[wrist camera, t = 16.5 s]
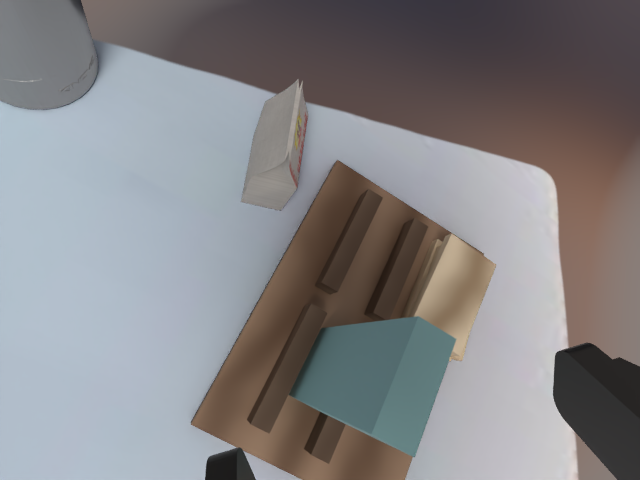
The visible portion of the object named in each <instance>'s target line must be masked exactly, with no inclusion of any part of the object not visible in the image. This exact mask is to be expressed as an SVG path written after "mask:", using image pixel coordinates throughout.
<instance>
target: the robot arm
mask: <svg viewBox="0 0 640 480" xmlns="http://www.w3.org/2000/svg"><path fill="white" fill-rule="evenodd" d="M97 71H98V59H97V54H96V50H95V47H94V44H93V40H92V37H91V34H90V30H89V27H88V24H87V20H86V16H85V13H84V10H83V6H82V3H81V0H0V100H1V101H2V102H5V103H8V104H10V105H13V106H16V107H21V108H26V109H41V110H44V109H51V108H58V107H61V106H64V105H67V104H70V103H71V102H73V101H75V100H77V99H79V98H80V97H81V96H82V95H84V94H85V93H86V92H87V91H88V90H89V88H90V87H91V86H92V84H93V83H94V81H95V78H96V75H97ZM553 397H554V401H555V404H556V407H557V409H558V411H559V413H560V414H561V416H562V417H563V419H564V420H565V421H566V422H567V423H568V424H569V426H570V427H571V428H572V429H573V430H574V431H575V432H576V433H577V434H578V436H579V437H580V438H581V439H582V440H583V441H584V442H585V444H586V445H587V446H588V447H589V448H590V449H591V450H592V452H593V453H594V454H595V455H596V456H597V457H598V458H599V459H600V461H601V462H602V463H603V464H604V465H605V466H606V467H607V468H608V470H609V471H610V472H611V473H612V474H613V475H614V476H615V477H616V479H617V480H640V367H639V366H637V365H635V364H632V363H631V362H628V361H626V360H624V359H622V358H620V357H619V358H616V359H613V360H612V359H611V358H610V357H609V356H608V355H606V354H605V353H604V352H602V351H601V350H600V349H599V348H597V347H596V346H595V345H593V344H591V343H584V344H580V345H578V346H574V347H571V348H567V349H564V350H561V351H558V352H557V353H556V355H555V367H554V386H553ZM205 480H256V479H255V477H254V474H253V472H252V470H251V468H250V465H249V463H248V461H247V459H246V456H245V454H244V452H243V450H242V448H240V447H239V448H235V449H232V450H229V451H225V452H222V453H219V454H216V455H212V456H210V457H209V458H208V460H207V465H206V476H205Z"/></svg>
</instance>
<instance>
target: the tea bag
mask: <svg viewBox="0 0 640 480" xmlns="http://www.w3.org/2000/svg"><path fill="white" fill-rule="evenodd" d="M302 83H303V81H302ZM302 83H301V86H300V88H299V82H298V79H297V81H296V82H295V83H294V84H292V85H291V86H290V87H288V88H287V89H286V90H284V91H282V92H281V93H279V94H277V95H276V96H274V97H272V98H271V99H269V100H267V101H266V102H265V104H264V107H263V110H262V113H261V116H260V119H259V122H258V125H257V128H256V130H255V133H254V137H253V142H252V147H251V153H250V158H249V163H248V168H247V173H246V179H245V184H244V189H243V194H242V200H241V202H244V203H248V204H252V205H257V206H261V207H266V208H270V209H275V210H279V211H281V210H282V208H283V207H284V206H285V204H286V203H287V202H288V200H289V199H290V197H291V196H292V195H293V193H294V192H295V191H296V189H297V185H298V179H299V172H300V166H301V159H302V152H303V146H304V139H305V133H306V126H307V119H308V112H307V108H306V104H305V100H304V96H303V89H302Z"/></svg>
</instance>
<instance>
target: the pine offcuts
mask: <svg viewBox="0 0 640 480" xmlns="http://www.w3.org/2000/svg"><path fill="white" fill-rule="evenodd" d="M495 267H496V264H494V263H493V262H491V261H490V260H489V259H487V258H486V257H484V256H483V255H482V254H480V253H479V252H477V251H476V250H475V249H473V248H472V247H470V246H469V245H468V244H466V243H465V242H463V241H462V240H460V239H459V238H458V237H456V236H455V235H453V234H449V235H447V236H445V238H444V240H443V242H442V241H440V240H439V239H436V240H434V241H432V243H431V245H430V248H429V250H428V252H427V255H426V257H425V260H424V262H423V265H422V267H421V270H420V272H419V274H418V277H417V279H416V282H415V284H414V287H413V289H412V292H411V294H410V297H409V299H408V301H407V304H406V306H405V309H404V311H403V314H402V316H401V318H408V317H416V316H419V317H421V318H423V319H424V320H426V321H428V322H429V323H431V324H432V325H434V326H436V327H437V328H439V329H441V330H442V331H444V332H446V333H447V334H449V335H451V336H452V337H454V338H456V342H455V345H454V348H453V350H452V353H451V356H450V359H449V361H451V359H454V360H457V361H462V359H463V356H464V352H465V348H466V344H467V341H468V337H469V333H470V330H471V328H472V325H473V323H474V320H475V318H476V315H477V313H478V310H479V308H480V305H481V303H482V300H483V297H484V295H485V292H486V290H487V287H488V285H489V282H490V280H491V277H492V275H493V272H494V270H495Z"/></svg>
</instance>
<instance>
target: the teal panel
mask: <svg viewBox="0 0 640 480" xmlns="http://www.w3.org/2000/svg"><path fill="white" fill-rule="evenodd" d="M455 342H456V338H454V337H452V336H451V335H449V334H447V333H446V332H444V331H442V330H441V329H439V328H437V327H436V326H434V325H432V324H431V323H429V322H428V321H426V320H424V319H423V318H421V317H419V316H416V317H408V318H399V319H391V320H383V321H375V322H367V323H359V324H351V325H343V326H335V327H327V328H321V329H320V331H319V333H318V335H317V337H316V339H315V341H314V344H313V346H312V348H311V350H310V352H309V354H308V356H307V358H306V360H305V362H304V364H303V366H302V368H301V370H300V372H299V374H298V376H297V378H296V380H295V382H294V384H293V386H292V389H291V391H290V393H289V395H290V396H291V397H293V398H295V399H297V400H299V401H301V402H303V403H304V404H306V405H308V406H310V407H312V408H314V409H316V410H318V411H320V412H322V413H324V414H326V415H328V416H330V417H332V418H334V419H336V420H338V421H340V422H342V423H344V424H347V425H349V426H351V427H353V428H355V429H357V430H359V431H361V432H363V433H365V434H367V435H369V436H371V437H373V438H375V439H377V440H379V441H381V442H383V443H385V444H388V445H390V446H392V447H394V448H396V449H398V450H400V451H402V452H404V453H406V454H408V455H410V456H412V457H415V455H416V452H417V449H418V446H419V443H420V441H421V438H422V435H423V432H424V429H425V426H426V424H427V421H428V418H429V415H430V412H431V410H432V407H433V404H434V401H435V398H436V395H437V393H438V390H439V387H440V384H441V381H442V379H443V376H444V373H445V370H446V367H447V365H448V362H449V359H450V356H451V353H452V350H453V348H454V345H455Z"/></svg>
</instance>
